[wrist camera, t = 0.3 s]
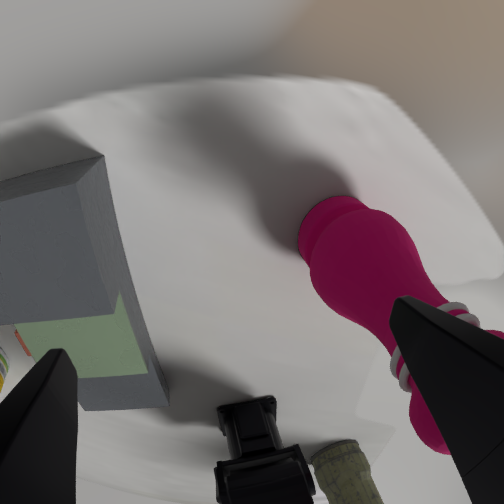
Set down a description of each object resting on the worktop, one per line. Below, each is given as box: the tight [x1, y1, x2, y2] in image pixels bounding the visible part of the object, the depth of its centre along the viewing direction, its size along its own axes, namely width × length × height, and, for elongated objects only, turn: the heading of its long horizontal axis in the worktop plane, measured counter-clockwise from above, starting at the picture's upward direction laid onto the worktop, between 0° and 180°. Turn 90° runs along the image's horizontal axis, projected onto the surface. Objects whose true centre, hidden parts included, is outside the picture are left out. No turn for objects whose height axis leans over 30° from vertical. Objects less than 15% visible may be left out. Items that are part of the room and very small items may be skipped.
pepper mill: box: [298, 196, 504, 455], centre depth 16 cm, size 7×7×20 cm
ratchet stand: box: [0, 156, 170, 411], centre depth 20 cm, size 22×10×6 cm, turn 3°
